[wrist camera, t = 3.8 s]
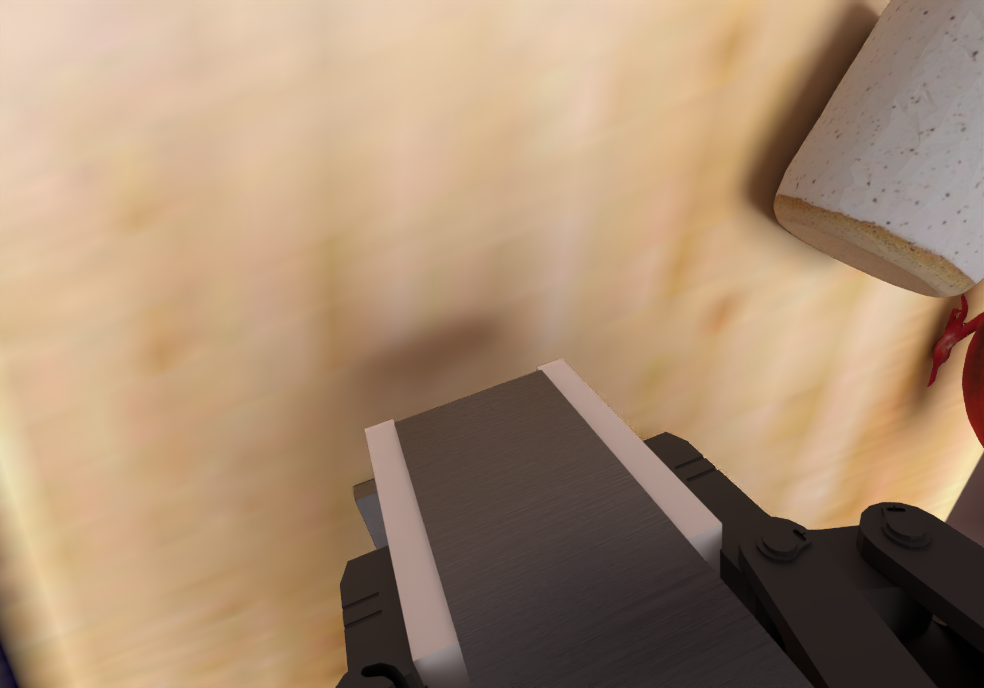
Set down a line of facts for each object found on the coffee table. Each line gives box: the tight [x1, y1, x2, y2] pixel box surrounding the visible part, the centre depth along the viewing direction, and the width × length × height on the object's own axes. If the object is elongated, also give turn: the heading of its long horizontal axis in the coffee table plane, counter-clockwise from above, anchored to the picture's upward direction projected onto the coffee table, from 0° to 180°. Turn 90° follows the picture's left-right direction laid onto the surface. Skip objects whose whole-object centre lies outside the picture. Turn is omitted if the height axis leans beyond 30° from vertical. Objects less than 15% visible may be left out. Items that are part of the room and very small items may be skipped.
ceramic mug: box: [773, 0, 984, 298], centre depth 19 cm, size 11×8×8 cm
